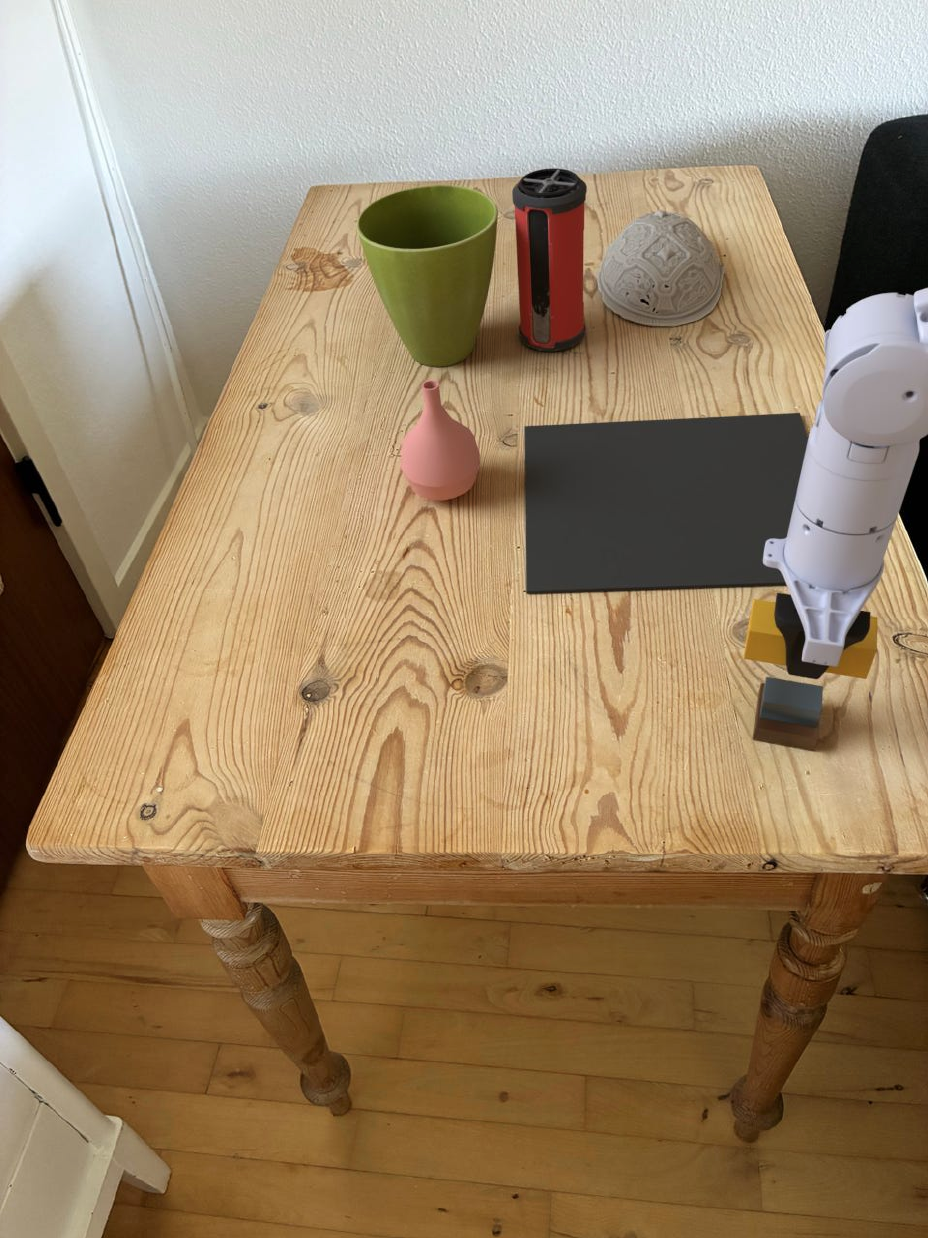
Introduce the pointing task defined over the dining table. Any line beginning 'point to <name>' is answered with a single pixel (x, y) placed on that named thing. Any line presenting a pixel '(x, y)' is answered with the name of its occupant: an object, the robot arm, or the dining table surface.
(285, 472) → the dining table surface
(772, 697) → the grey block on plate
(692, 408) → the dining table surface
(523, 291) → the speaker
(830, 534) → the robot arm
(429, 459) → the pink bud vase
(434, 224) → the flower pot
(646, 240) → the carved stone dome
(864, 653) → the bar
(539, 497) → the mat
